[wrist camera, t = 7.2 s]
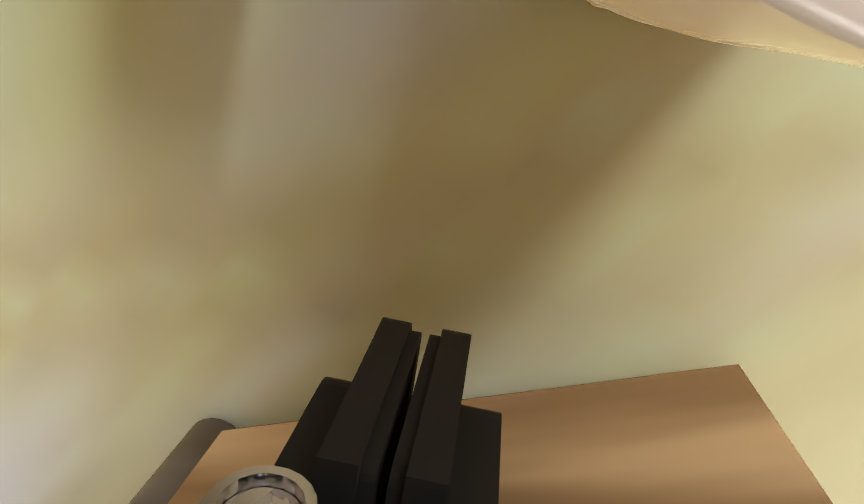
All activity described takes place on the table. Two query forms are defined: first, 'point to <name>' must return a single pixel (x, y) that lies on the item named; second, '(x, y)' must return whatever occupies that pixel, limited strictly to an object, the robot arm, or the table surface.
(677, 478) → the door
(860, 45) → the white cup
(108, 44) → the table surface
